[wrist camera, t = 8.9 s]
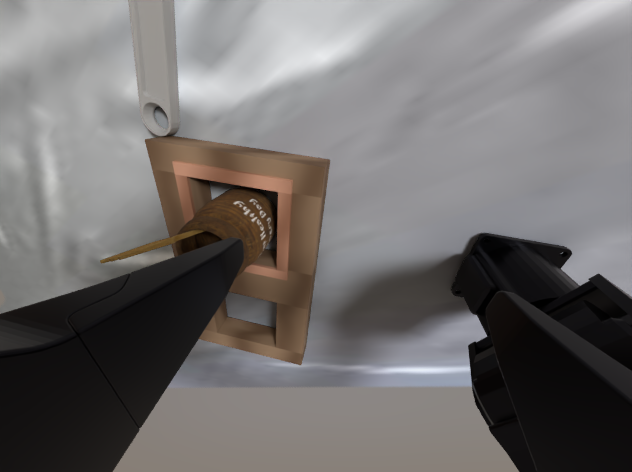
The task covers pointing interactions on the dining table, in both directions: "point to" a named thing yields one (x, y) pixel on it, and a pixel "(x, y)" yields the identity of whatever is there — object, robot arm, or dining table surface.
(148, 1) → the adjustable wrench
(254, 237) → the utensil holder
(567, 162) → the dining table surface
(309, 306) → the double window frame
